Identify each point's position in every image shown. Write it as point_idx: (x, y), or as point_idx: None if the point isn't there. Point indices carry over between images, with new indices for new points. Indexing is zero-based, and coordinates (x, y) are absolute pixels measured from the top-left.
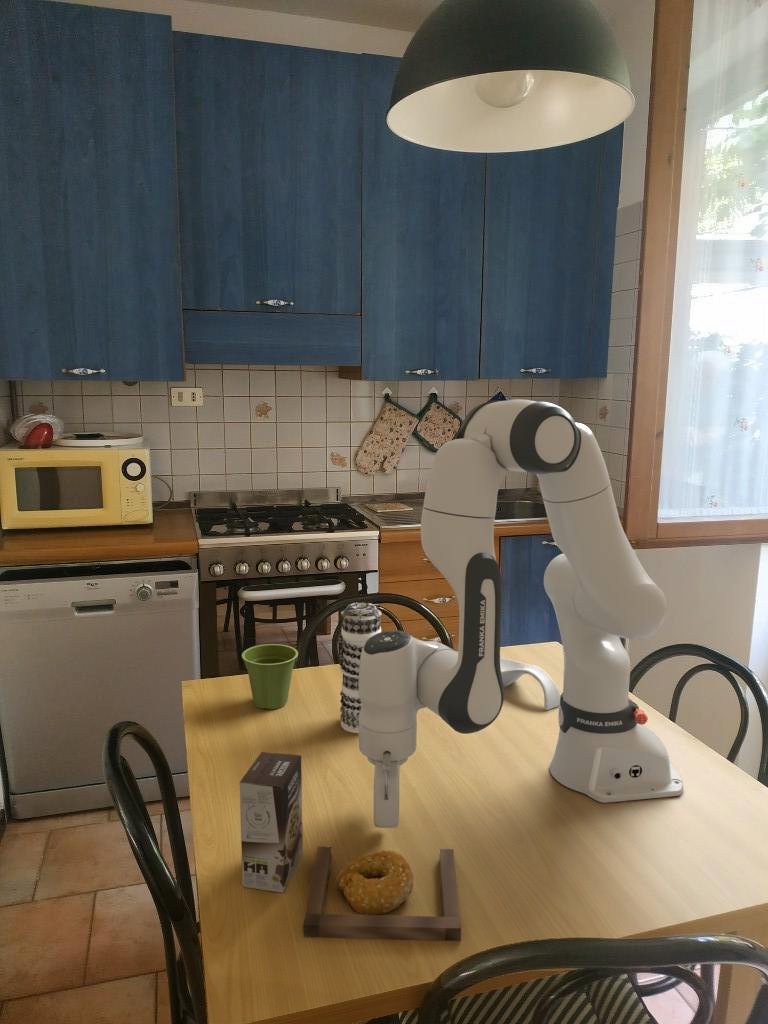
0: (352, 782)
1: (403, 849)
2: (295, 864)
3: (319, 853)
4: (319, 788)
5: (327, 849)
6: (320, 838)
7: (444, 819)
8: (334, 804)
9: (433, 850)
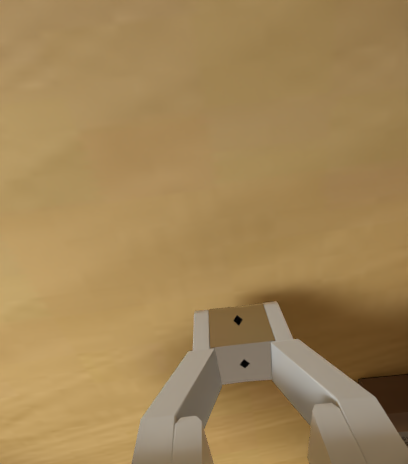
0: (12, 395)
1: (336, 218)
2: (405, 436)
3: (405, 427)
4: (80, 438)
5: (391, 418)
6: (279, 406)
7: (83, 51)
8: (133, 408)
9: (353, 86)
